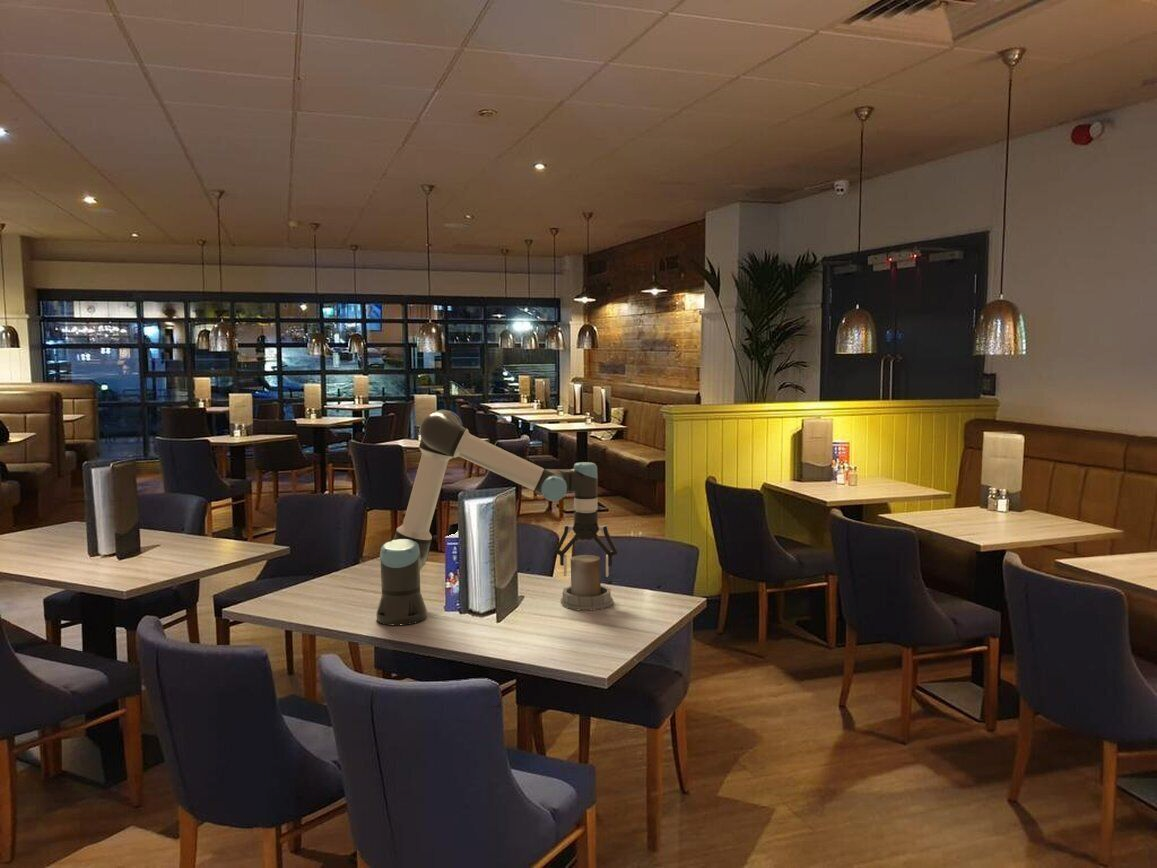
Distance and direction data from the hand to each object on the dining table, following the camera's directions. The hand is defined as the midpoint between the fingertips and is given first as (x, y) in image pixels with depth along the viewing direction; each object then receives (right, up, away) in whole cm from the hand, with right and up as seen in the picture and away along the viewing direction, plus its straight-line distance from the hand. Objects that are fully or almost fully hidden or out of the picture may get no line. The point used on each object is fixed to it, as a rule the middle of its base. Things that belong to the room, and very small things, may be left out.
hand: (586, 575), depth 273 cm
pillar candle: (0, -8, +1) cm, 8 cm away
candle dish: (0, -9, +1) cm, 9 cm away
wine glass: (-44, -7, +30) cm, 54 cm away
